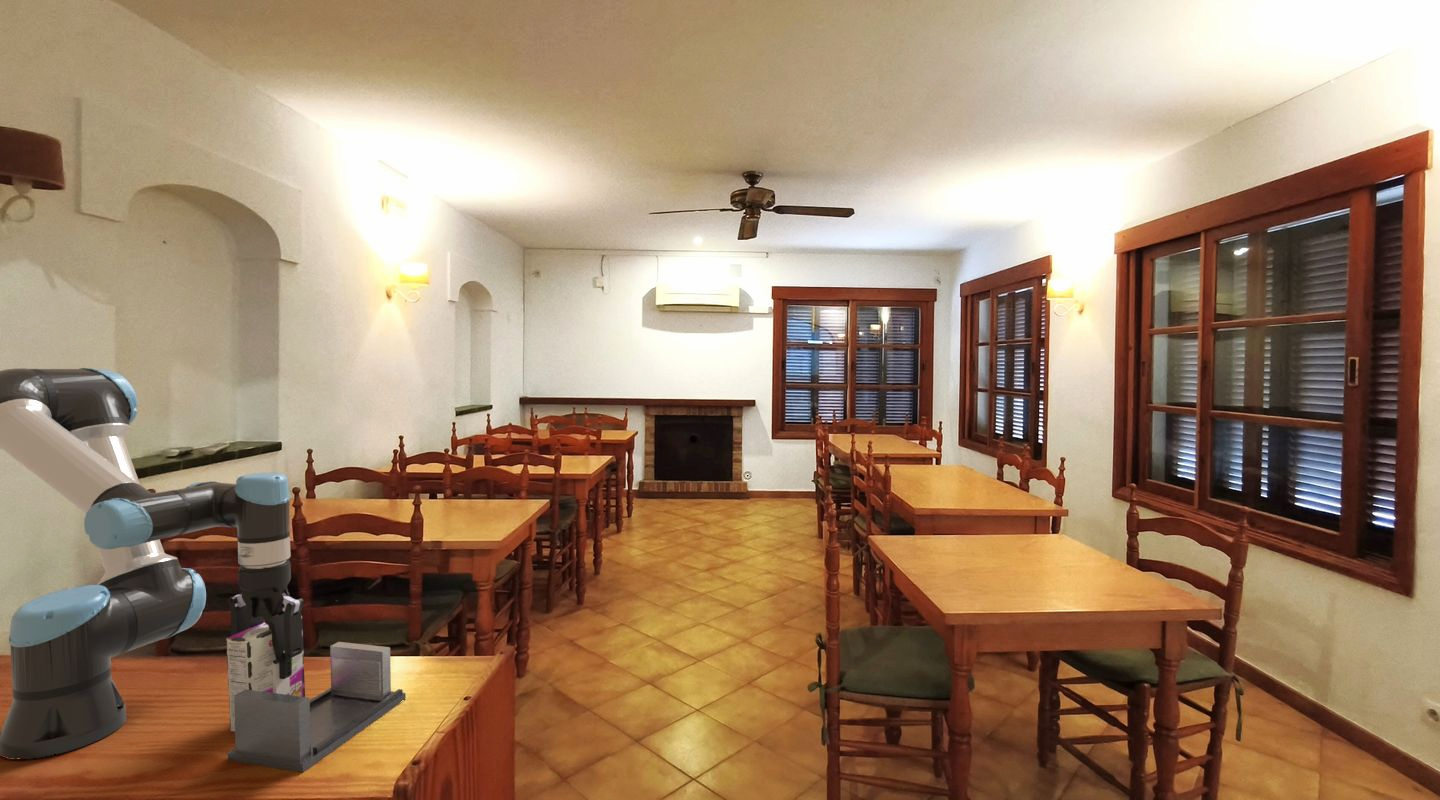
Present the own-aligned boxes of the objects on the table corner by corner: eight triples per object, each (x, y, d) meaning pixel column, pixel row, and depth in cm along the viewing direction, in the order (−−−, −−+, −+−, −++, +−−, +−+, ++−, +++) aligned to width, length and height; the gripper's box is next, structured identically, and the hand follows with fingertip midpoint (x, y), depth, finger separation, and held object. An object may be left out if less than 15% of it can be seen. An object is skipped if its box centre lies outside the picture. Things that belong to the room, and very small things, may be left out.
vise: (227, 760, 104) (225, 696, 103) (341, 691, 126) (340, 638, 126) (303, 772, 101) (301, 706, 100) (405, 699, 123) (404, 645, 123)
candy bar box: (283, 700, 122) (281, 613, 122) (306, 703, 121) (304, 615, 121) (226, 732, 111) (224, 636, 111) (251, 736, 110) (249, 639, 110)
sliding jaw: (330, 694, 121) (329, 646, 121) (362, 675, 129) (361, 630, 129) (382, 701, 119) (381, 652, 119) (411, 681, 127) (411, 635, 126)
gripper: (201, 565, 113) (205, 698, 114) (290, 572, 110) (293, 710, 111) (241, 553, 121) (245, 679, 122) (326, 560, 117) (328, 689, 118)
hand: (267, 693), depth 116 cm, fingers closed on candy bar box, 5 cm apart
